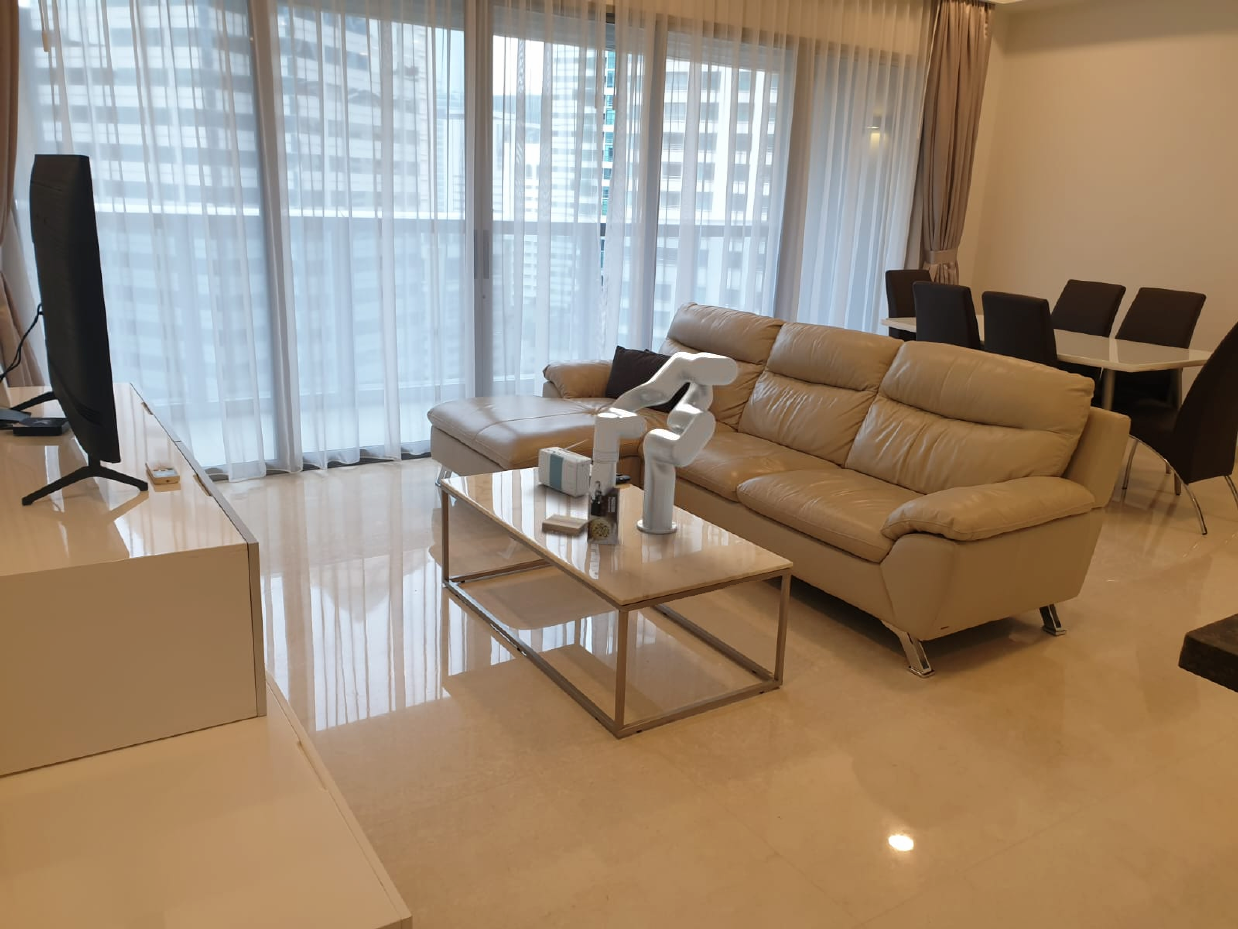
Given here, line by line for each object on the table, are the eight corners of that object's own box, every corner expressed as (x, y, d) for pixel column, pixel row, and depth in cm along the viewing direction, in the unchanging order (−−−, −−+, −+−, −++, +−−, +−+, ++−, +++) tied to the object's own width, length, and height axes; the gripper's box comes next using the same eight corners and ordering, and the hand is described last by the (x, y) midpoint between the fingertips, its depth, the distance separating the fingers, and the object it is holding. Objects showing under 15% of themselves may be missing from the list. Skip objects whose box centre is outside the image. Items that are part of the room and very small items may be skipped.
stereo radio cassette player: (536, 484, 324) (538, 430, 319) (554, 480, 330) (556, 427, 324) (573, 499, 310) (575, 442, 304) (592, 495, 315) (594, 439, 310)
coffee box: (618, 538, 274) (621, 487, 270) (616, 545, 268) (619, 493, 264) (588, 536, 275) (590, 485, 271) (585, 543, 269) (588, 491, 264)
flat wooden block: (554, 521, 286) (554, 514, 285) (589, 527, 282) (589, 520, 282) (541, 530, 278) (542, 522, 277) (577, 536, 274) (578, 528, 273)
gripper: (604, 448, 273) (600, 502, 278) (582, 459, 258) (579, 517, 262) (627, 451, 271) (623, 506, 275) (607, 463, 255) (603, 521, 259)
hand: (601, 511), depth 268 cm, fingers open, 9 cm apart
